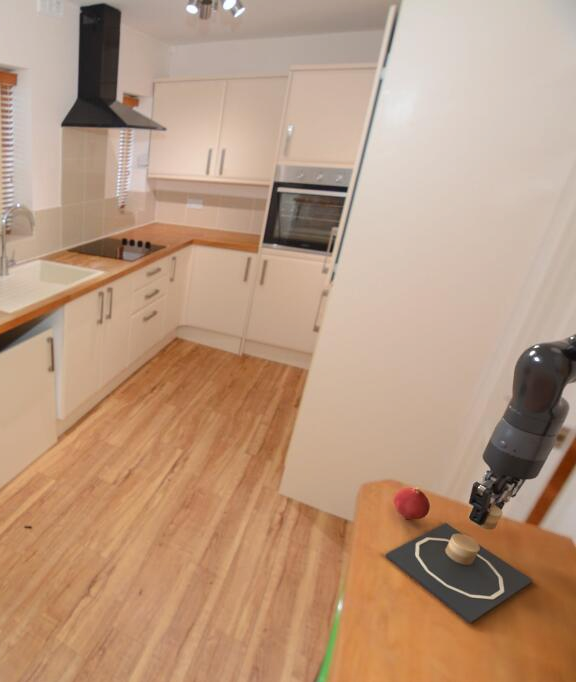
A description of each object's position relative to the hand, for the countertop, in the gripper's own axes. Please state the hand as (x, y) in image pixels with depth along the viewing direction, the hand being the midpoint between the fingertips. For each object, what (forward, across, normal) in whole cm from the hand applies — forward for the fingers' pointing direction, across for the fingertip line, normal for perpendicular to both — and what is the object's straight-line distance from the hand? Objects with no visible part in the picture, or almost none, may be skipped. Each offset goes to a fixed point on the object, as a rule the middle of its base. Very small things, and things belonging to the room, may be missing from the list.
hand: (483, 517), depth 87 cm
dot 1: (+4, -9, -2) cm, 10 cm away
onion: (+5, -8, +8) cm, 12 cm away
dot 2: (+1, 0, 0) cm, 1 cm away
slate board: (+5, -12, -3) cm, 13 cm away
